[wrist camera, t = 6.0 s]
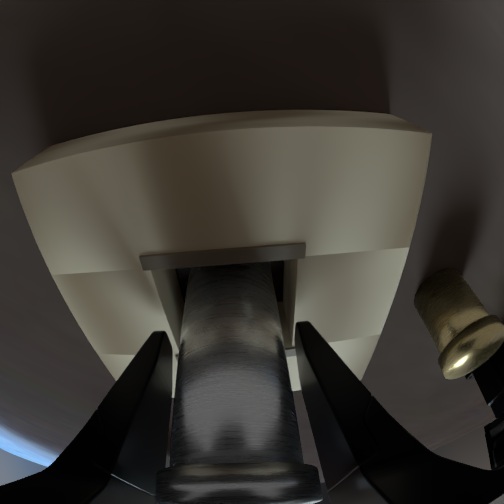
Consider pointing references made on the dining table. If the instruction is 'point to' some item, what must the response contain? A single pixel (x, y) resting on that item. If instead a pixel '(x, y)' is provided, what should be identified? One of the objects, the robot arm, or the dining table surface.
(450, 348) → the short pin
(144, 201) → the socket board
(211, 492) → the long pin
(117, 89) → the dining table surface
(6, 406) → the dining table surface
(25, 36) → the dining table surface
